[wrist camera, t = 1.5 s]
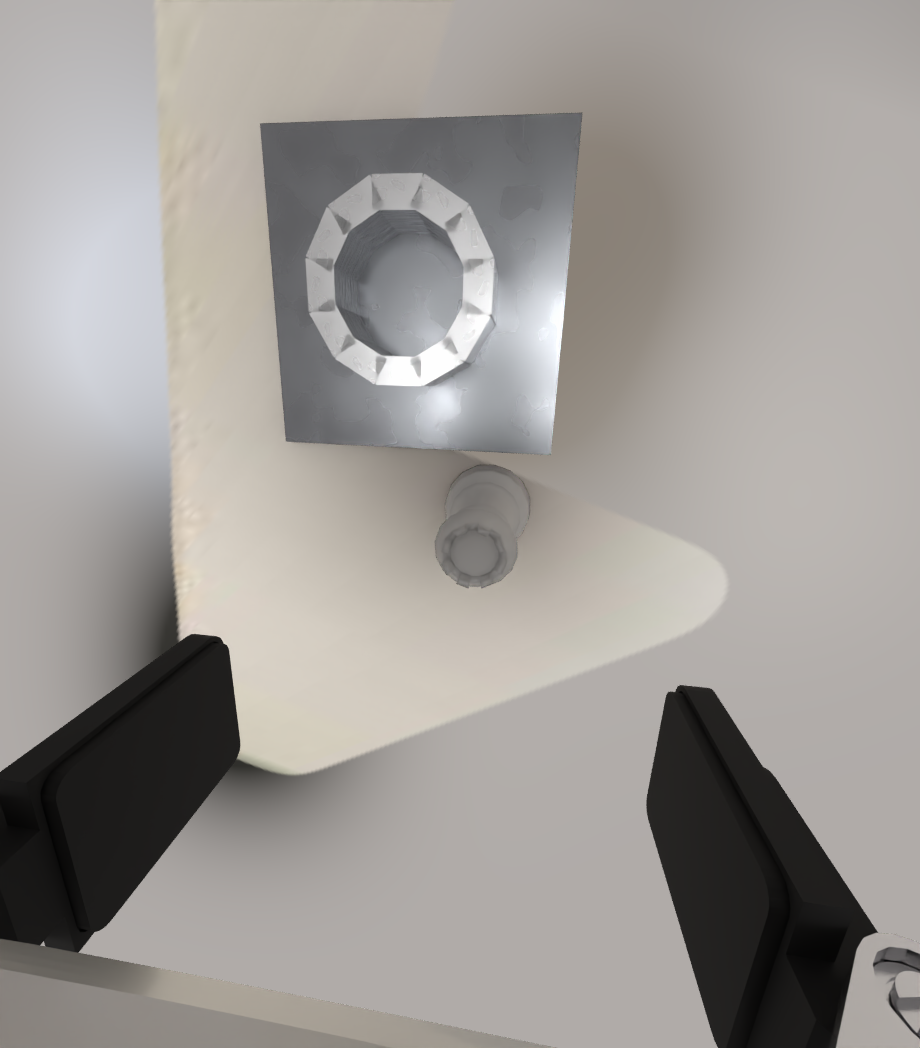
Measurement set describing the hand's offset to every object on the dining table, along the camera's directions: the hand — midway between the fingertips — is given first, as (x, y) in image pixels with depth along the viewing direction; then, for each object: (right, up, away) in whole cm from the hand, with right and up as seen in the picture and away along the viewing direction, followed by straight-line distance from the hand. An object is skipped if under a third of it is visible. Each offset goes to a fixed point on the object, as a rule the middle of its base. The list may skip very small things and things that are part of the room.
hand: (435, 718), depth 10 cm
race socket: (-2, +15, +12) cm, 19 cm away
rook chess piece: (+2, +5, +15) cm, 16 cm away
